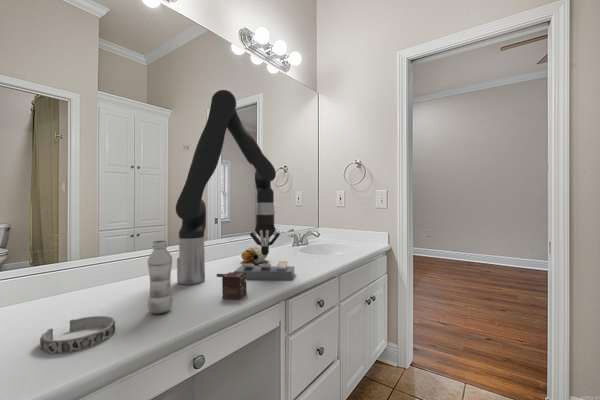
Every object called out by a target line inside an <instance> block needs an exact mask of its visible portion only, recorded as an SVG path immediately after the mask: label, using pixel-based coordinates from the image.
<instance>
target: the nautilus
mask: <svg viewBox="0 0 600 400" xmlns="http://www.w3.org/2000/svg"><path fill="white" fill-rule="evenodd" d="M268 255H269V253H268V254H267V256H263V254H262V253H261V247H259V246H253V247H248V248H246V249H245V250H244V251H243V252H241V255H240V257H241V258H242V260H243V262H240V263H239V264H241V265H242V263H243V264H244V263H246V262H247V264H254V265H256V264H257V265H259V264H261V263H263V262H264V261H265V259H266V258H267V257H268Z"/></svg>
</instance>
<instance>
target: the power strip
mask: <svg viewBox="0 0 600 400" xmlns="http://www.w3.org/2000/svg"><path fill="white" fill-rule="evenodd" d="M276 268H277V265H276V266H274V265H273V266H272V265H271V266H270V268H260V266H259V265H254V267H253V268H244V266H242V265H240V266H238V268H237V269H235V270H234V271H233V272H246V281H247V280H251V281H252V280H254V281H255V280H257V281H258V280H259V281H261V280H263V281H265V280H267V281H292V280H293V279H294V276H295V265H293V266H292V265H290V266H288V265H287V268H286V270H277V269H276ZM225 274H226V273H217V274H216V275H215V276H216V277H222V276H224V275H225Z"/></svg>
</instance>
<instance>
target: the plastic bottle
mask: <svg viewBox="0 0 600 400" xmlns="http://www.w3.org/2000/svg"><path fill="white" fill-rule="evenodd" d="M167 248H168V241H167V240H155V241H152V252H151V253H150V254H149V256H148V258H147V268H148V274H149V276H148V277H149V296H148V299H147V300H148V301H147V309H148V311H149V312H150V313H151V314H154V315H157V314H164V313H166V312H169V311H171V309H172V307H173V305H174V304H173V303H174V299H173V298H174V297H173V293H172V284H171V281H172V280H171V276H172V275H171V273H172V266H173V256H172V255H171V253H170V252H169V251H168V250H167Z"/></svg>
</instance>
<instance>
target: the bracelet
mask: <svg viewBox="0 0 600 400" xmlns="http://www.w3.org/2000/svg"><path fill="white" fill-rule="evenodd" d="M89 328H90V329H91V328H103V329H101V330H99V331H95V332H92V333H90V334H87V335H83V336H80V337H75V338H70V339H59V340H54V337H53V336H54V328H49V329H47V330H46V331H45V332H44V333H42V334H41V337H40V338H39V349H40V350H42V352H45V353H47V354H50V355H54V354H56V355H57V354H64V353H65V354H67V353H73V352H74V353H75V352H77V351H78V352H79V351H81V350H82V351H83V350H85V349H88V348H92V347H93V346H96V345H99V344H101V343H103V342H106V341H107V340H109V339H110V338H111V337H112V336H113V335H114V334H115V333H116V321H115V319H114V318H113V317H112V316H106V315H93V316H86V317H79V318H76V319H75V318H74V319H70V320H69V332H70V333H71V332H75V331H78V330H83V329H89Z"/></svg>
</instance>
